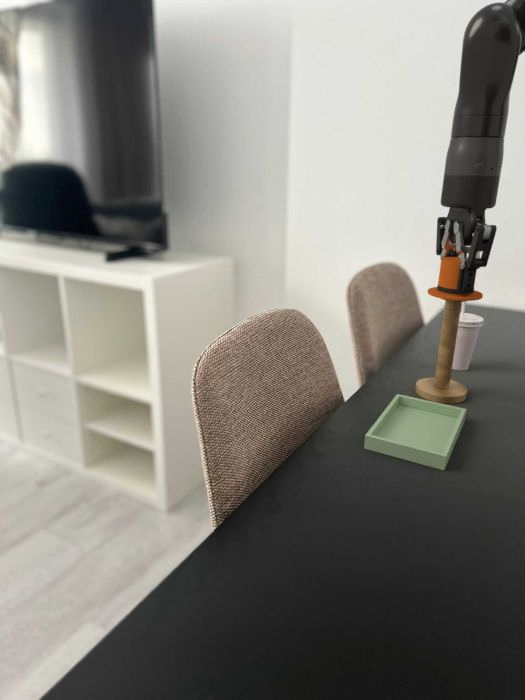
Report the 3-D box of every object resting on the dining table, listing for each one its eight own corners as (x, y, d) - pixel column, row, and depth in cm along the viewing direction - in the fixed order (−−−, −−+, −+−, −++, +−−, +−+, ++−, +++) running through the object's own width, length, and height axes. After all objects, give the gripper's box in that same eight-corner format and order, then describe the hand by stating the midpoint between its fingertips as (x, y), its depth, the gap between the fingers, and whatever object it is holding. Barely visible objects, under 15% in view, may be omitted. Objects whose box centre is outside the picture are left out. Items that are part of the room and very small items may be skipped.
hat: (467, 288, 83) (472, 255, 81) (492, 300, 75) (498, 264, 74) (419, 289, 82) (423, 255, 80) (440, 301, 75) (445, 264, 73)
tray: (395, 405, 80) (397, 393, 79) (464, 421, 75) (466, 408, 74) (363, 448, 67) (365, 435, 66) (444, 470, 62) (446, 456, 62)
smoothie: (443, 358, 100) (454, 288, 95) (478, 365, 97) (490, 292, 92) (436, 368, 95) (446, 294, 90) (472, 375, 92) (485, 299, 87)
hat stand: (452, 383, 88) (467, 288, 83) (475, 403, 81) (492, 300, 75) (408, 384, 88) (419, 289, 82) (426, 404, 80) (440, 301, 75)
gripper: (526, 173, 67) (503, 300, 72) (472, 172, 80) (457, 279, 86) (471, 172, 66) (452, 301, 71) (426, 172, 79) (413, 280, 85)
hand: (455, 289), depth 79 cm, fingers closed on hat, 5 cm apart
